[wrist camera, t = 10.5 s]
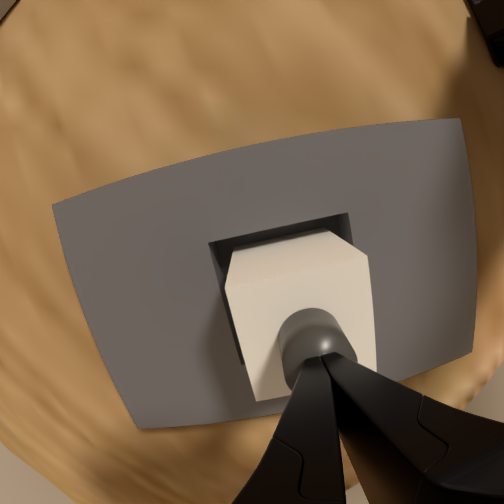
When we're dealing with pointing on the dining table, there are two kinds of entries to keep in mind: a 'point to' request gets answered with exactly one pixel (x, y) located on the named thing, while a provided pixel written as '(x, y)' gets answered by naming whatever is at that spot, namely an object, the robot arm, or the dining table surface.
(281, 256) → the plug
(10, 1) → the electrical switch
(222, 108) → the dining table surface
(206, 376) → the socket plate
